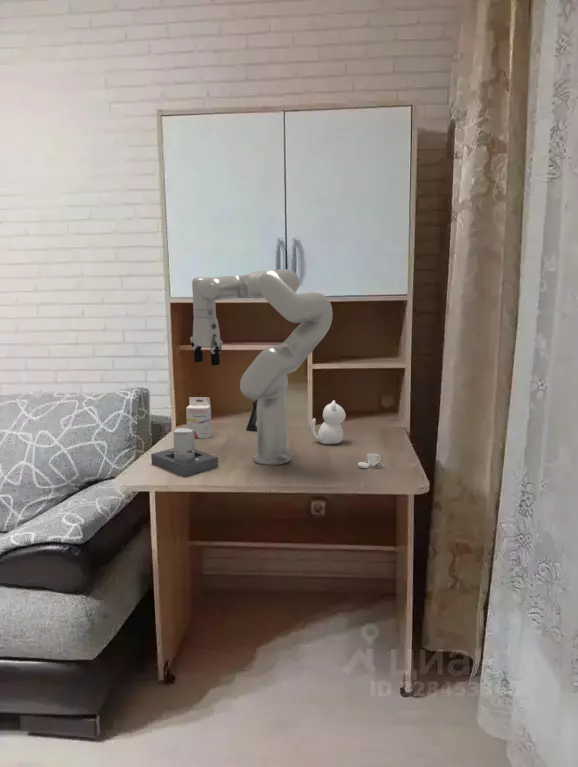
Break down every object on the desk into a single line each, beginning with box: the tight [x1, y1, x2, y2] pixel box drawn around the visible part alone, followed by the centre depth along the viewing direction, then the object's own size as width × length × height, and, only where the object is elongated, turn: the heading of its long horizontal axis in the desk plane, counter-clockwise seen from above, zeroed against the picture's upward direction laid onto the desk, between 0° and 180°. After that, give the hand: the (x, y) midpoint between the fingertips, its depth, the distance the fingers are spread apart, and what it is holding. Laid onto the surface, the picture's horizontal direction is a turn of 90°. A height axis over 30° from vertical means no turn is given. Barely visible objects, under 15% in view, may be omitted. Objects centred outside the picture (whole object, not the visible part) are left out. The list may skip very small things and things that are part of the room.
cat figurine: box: [310, 400, 347, 445], centre depth 242 cm, size 9×12×15 cm
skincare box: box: [173, 427, 196, 462], centre depth 220 cm, size 6×4×12 cm
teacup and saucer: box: [357, 452, 381, 469], centre depth 217 cm, size 9×8×4 cm
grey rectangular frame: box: [150, 447, 219, 478], centre depth 221 cm, size 19×13×4 cm
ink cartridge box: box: [185, 396, 213, 439], centre depth 254 cm, size 9×5×15 cm, turn 84°
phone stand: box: [246, 400, 258, 432], centre depth 262 cm, size 9×6×12 cm, turn 74°
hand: (206, 363), depth 235 cm, fingers open, 9 cm apart
